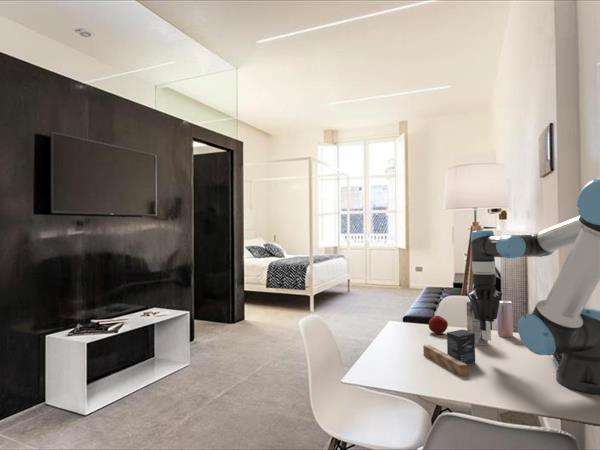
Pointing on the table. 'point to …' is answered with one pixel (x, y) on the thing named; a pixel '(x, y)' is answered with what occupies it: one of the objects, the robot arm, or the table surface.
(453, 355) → the box
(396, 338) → the table surface
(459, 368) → the board
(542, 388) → the table surface
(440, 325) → the apple
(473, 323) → the coffee box
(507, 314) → the beverage can
